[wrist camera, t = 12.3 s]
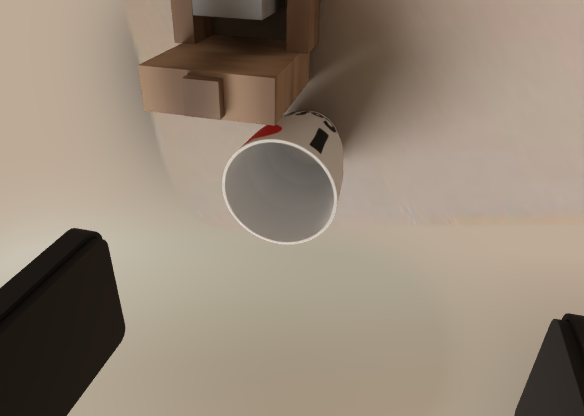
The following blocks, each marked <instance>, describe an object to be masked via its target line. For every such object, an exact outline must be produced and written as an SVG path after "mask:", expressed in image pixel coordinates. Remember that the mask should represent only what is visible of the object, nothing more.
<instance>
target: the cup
mask: <svg viewBox="0 0 584 416" xmlns="http://www.w3.org/2000/svg"><path fill="white" fill-rule="evenodd" d="M342 180H343V147H342V142H341V139H340V137H339V134H338V132H337V129H336V127H335V126H334V124H333V123H332V122H331V121H330V120H329V119H328V118H327V117H326V116H324V115H323V114H321V113H318V112H315V111H300V112H293V113H289V114H286V115H284V116H282V117H281V118H280V119H279V121H278V122H277V123H276V124H275V126H273V125H266V126H265V127H263V128H262V129H260V130H259V131H258V132H257V133H256V134H254V135H253V136H252V137H251V138H250V139H249V140H248V141H247V142H246V143H245V144H244V145H243V146H242V147H241V148H240V149H239V150H238V151H237V152H236V153H235V154H234V155H233V156H232V157H231V158H230V160H229V161H228V163H227V165H226V167H225V170H224V173H223V178H222V190H223V195H224V199H225V202H226V204H227V207H228V209H229V210H230V212H231V214H232V215H233V216H234V218H235V219H236V220H237V221H238V222H239V224H240V225H242V226H243V227H244V228H245V229H246V230H248V231H249V232H250V233H252V234H254V235H255V236H257V237H259V238H261V239H264V240H266V241H269V242H273V243H278V244H298V243H303V242H306V241H309V240H311V239H313V238H315V237H317V236H318V235H320V234H321V233H322V232H323V231H324V230H325V229H326V228H327V227H328V226H329V225H330V223H331V221H332V220H333V217H334V215H335V212H336V208H337V203H338V198H339V194H340V189H341V185H342Z"/></svg>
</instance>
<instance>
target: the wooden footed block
mask: <svg viewBox="0 0 584 416" xmlns="http://www.w3.org/2000/svg"><path fill="white" fill-rule="evenodd" d="M171 9H172V19H173V29H174V39H175V43H182V44H180V45H178V46H176V47H174V48H172V49H170V50H168V51H166V52H164V53H162V54H160V55H158V56H156V57H154V58H152V59H150V60H148V61H146V62H144V63H142V64H140V65H138V69H139V76H140V83H141V90H142V97H143V104H144V110H145V111H151V112H160V113H169V114H177V115H185V116H191V117H200V118H209V119H217V120H230V121H239V122H247V123H256V124H265V125H273V126H275V124H276V123H277V122H278V121H279V119H280V118H281V117H282V115H283V114H284V113H285V111H286V110H287V109H288V108H289V106H290V105H291V104H292V102H293V101H294V100H295V99H296V97H297V96H298V95H299V93H300V92H301V91H302V89H303V88H304V87H305V86H306V84H307V83H308V82H309V65H310V51H311V50H312V49H313V48H314V47H315V46H316V45H317V44H318V33H319V13H320V0H287V33H286V41H285V40H272V39H259V38H246V37H234V36H221V35H213V31H212V17H211V16H197V15H193V9H192V0H171Z"/></svg>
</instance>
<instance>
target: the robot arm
mask: <svg viewBox="0 0 584 416" xmlns="http://www.w3.org/2000/svg"><path fill="white" fill-rule="evenodd" d="M124 333H125V323H124V318H123V314H122V309H121V304H120V300H119V295H118V290H117V285H116V281H115V276H114V272H113V266H112V262H111V257H110V252H109V248H108V244H107V242H106V241H105V240H103V239H102V236H101V235H100V234H99V233H97V232H94V231H89V230H82V229H77V228H73V229H70V230H68V231H67V232H66V233H65V234H63V235H62V236H61V237H60V238H59V239H57V240H56V241H55V242H54V243H53V244H52V245H51V246H49V247H48V248H47V249H46V250H45V251H43V252H42V253H41V254H40V255H39V256H38V257H36V258H35V259H34V260H33V261H32V262H31V263H29V264H28V265H27V266H26V267H25V268H24V269H22V270H21V271H20V272H19V273H18V274H16V275H15V276H14V277H13V278H12V279H11V280H9V281H8V282H7V283H6V284H5V285H4V286H2V287H1V288H0V416H67V414H68V413H69V412H70V410H71V409H72V408H73V406H74V405H75V404H76V402H77V401H78V400H79V398H80V397H81V396H82V394H83V393H84V391H85V390H86V389H87V387H88V386H89V385H90V383H91V382H92V381H93V379H94V378H95V377H96V375H97V374H98V372H99V371H100V370H101V368H102V367H103V366H104V364H105V363H106V362H107V360H108V359H109V358H110V356H111V355H112V354H113V352H114V351H115V350H116V348H117V347H118V345H119V344H120V343H121V341H122V339H123V337H124ZM515 416H584V316H581V315H575V314H565V315H564V316H563V318H562V320H558V319H553V320H552V322H551V324H550V326H549V328H548V331H547V333H546V336H545V338H544V341H543V343H542V346H541V348H540V351H539V353H538V356H537V358H536V361H535V363H534V366H533V368H532V371H531V373H530V375H529V378H528V380H527V383H526V386H525V388H524V391H523V393H522V395H521V398H520V401H519V403H518V405H517V408H516V411H515Z"/></svg>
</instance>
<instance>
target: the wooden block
mask: <svg viewBox="0 0 584 416" xmlns="http://www.w3.org/2000/svg"><path fill="white" fill-rule="evenodd" d="M285 3H286V0H192V9H193V15H197V16H211V17H226V18H240V19H254V20H263V19H265V18H266V17H268V16H270V15H271V14H273V13H275V12H276V11H278V10H280V9H282V8H283V7H285Z"/></svg>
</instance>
